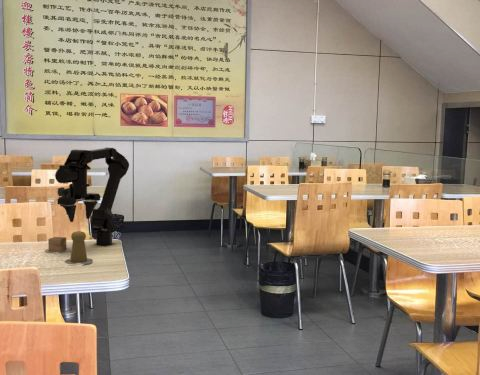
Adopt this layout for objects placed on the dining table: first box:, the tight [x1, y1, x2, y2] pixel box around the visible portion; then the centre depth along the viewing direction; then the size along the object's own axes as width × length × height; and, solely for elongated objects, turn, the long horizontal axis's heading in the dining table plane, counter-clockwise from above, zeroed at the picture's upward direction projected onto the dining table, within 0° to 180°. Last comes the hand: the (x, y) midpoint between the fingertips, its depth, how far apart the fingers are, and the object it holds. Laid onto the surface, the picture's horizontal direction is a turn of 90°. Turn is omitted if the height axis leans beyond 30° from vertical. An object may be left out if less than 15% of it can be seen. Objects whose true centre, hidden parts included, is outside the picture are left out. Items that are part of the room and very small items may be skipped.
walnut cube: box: [47, 236, 67, 252], centre depth 213 cm, size 5×5×5 cm
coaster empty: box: [64, 257, 94, 267], centre depth 197 cm, size 10×10×1 cm
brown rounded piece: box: [70, 230, 88, 263], centre depth 197 cm, size 6×6×11 cm
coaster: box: [43, 247, 72, 255], centre depth 213 cm, size 10×10×1 cm
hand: (79, 220), depth 212 cm, fingers open, 9 cm apart
